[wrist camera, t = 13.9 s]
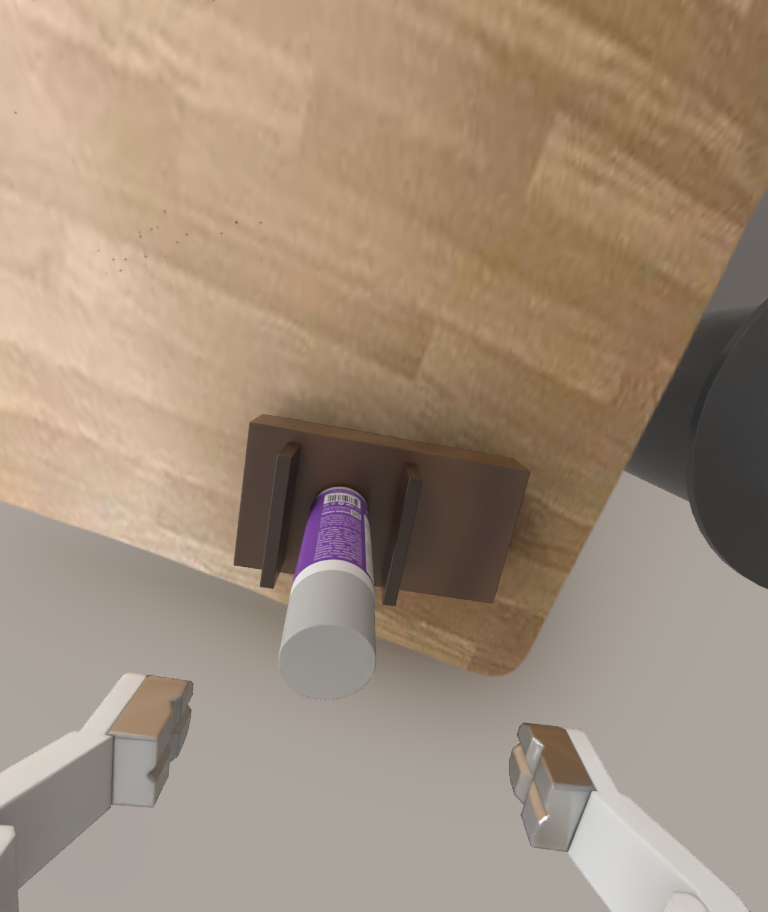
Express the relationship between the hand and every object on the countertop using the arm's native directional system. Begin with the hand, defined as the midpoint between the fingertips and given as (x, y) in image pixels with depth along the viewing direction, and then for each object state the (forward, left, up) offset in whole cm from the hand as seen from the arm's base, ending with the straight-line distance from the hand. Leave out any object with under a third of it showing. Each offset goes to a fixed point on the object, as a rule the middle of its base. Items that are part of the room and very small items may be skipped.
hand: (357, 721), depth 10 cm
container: (+1, +4, -23) cm, 23 cm away
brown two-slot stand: (-2, +4, -27) cm, 27 cm away
